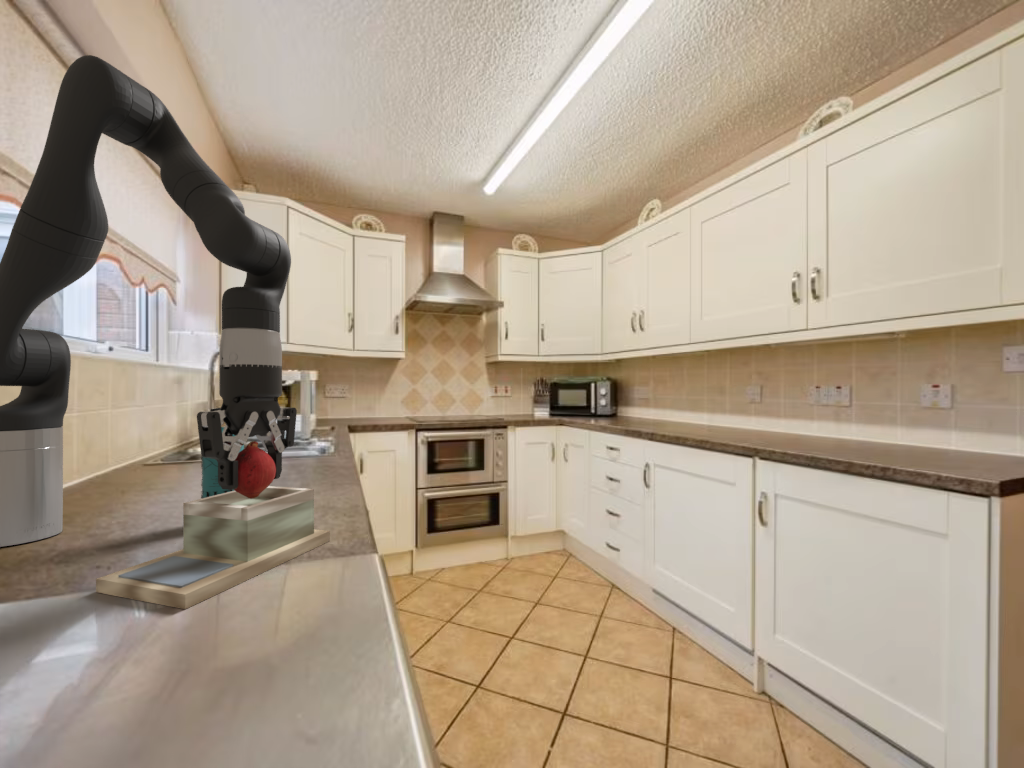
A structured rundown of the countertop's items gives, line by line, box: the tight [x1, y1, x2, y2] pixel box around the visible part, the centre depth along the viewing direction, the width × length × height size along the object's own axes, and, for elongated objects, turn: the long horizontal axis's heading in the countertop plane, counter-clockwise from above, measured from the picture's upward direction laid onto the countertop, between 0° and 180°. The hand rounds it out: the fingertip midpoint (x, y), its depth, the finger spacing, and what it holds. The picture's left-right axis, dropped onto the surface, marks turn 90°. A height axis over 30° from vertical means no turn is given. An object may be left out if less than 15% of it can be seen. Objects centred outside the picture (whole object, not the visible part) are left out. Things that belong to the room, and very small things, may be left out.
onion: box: [234, 440, 276, 499], centre depth 60 cm, size 6×6×8 cm
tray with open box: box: [95, 485, 331, 610], centre depth 56 cm, size 14×21×8 cm, turn 162°
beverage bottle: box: [200, 407, 245, 499], centre depth 75 cm, size 6×7×20 cm
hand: (251, 483), depth 60 cm, fingers open, 6 cm apart
